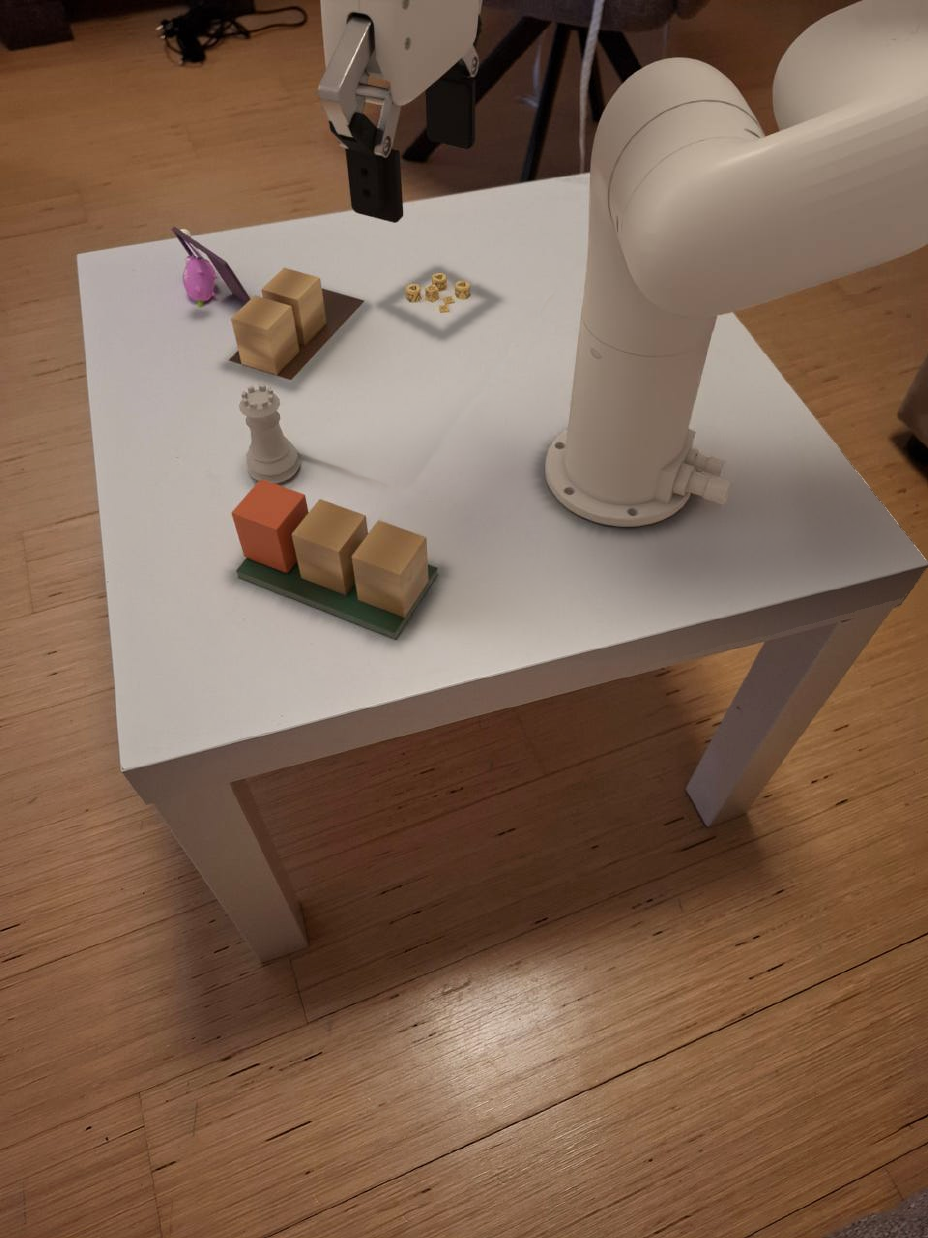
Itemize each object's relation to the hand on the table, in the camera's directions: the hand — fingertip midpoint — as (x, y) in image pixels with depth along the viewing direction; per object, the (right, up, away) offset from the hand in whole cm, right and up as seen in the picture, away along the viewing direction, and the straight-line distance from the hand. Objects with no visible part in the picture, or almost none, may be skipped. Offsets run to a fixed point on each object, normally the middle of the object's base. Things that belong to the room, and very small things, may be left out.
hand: (416, 177), depth 56 cm
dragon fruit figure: (-23, +5, +37) cm, 44 cm away
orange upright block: (-12, -22, +16) cm, 29 cm away
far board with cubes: (-13, +1, +34) cm, 36 cm away
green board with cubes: (-7, -24, +15) cm, 29 cm away
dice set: (0, +5, +37) cm, 37 cm away
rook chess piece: (-13, -14, +22) cm, 30 cm away
